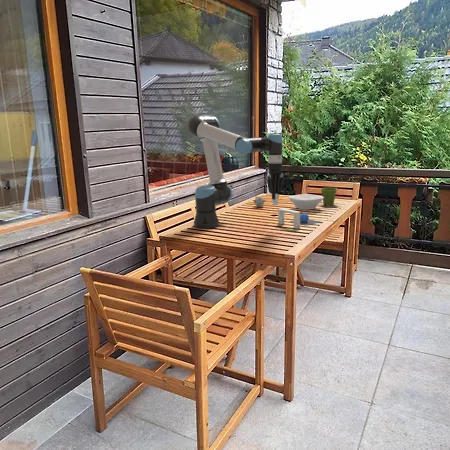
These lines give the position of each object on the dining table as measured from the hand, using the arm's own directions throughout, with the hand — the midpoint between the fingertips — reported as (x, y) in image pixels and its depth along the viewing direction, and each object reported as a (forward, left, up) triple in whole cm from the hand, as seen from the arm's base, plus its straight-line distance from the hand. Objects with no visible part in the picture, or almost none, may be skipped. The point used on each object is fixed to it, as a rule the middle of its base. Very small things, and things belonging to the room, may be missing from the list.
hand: (275, 205), depth 231 cm
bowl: (+54, +26, -14) cm, 62 cm away
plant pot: (+78, +26, -14) cm, 83 cm away
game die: (+36, +54, -14) cm, 66 cm away
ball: (+24, 0, -11) cm, 26 cm away
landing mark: (+25, 0, -14) cm, 29 cm away
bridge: (+11, 0, -14) cm, 18 cm away
